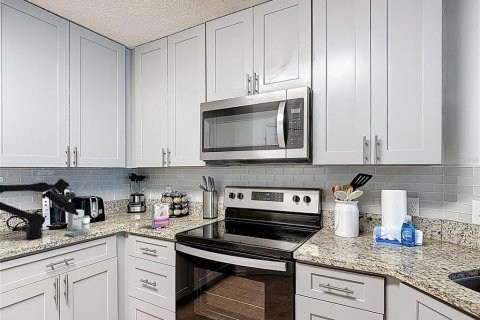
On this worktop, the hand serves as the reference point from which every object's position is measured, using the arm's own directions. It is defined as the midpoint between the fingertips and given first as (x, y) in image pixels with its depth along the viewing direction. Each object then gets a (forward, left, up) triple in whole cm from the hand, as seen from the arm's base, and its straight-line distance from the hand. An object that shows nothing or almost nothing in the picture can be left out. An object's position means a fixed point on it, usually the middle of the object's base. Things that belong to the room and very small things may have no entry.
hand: (75, 213), depth 173 cm
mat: (-4, -7, -12) cm, 14 cm away
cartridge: (+5, -2, -12) cm, 13 cm away
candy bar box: (+36, -37, -12) cm, 53 cm away
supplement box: (+6, +10, -12) cm, 17 cm away
